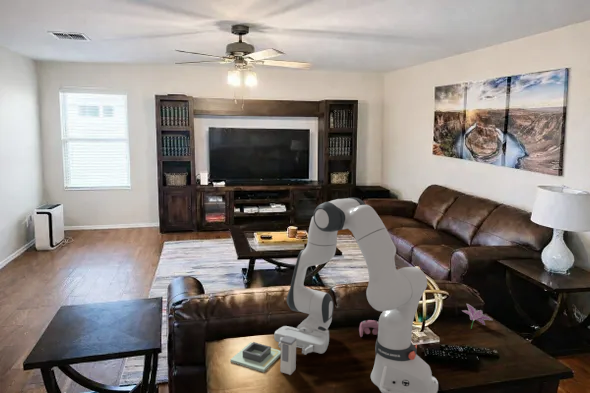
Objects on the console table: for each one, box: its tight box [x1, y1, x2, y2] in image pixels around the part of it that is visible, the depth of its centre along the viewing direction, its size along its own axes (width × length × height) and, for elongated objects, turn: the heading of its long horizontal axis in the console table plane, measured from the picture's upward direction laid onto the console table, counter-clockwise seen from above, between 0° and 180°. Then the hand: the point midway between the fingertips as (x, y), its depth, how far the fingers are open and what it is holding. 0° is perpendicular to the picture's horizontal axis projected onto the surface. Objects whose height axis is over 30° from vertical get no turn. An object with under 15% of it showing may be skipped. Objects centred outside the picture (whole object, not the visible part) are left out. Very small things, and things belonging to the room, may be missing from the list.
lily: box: [461, 303, 493, 329], centre depth 199 cm, size 12×12×10 cm
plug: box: [279, 335, 297, 376], centre depth 163 cm, size 4×5×12 cm
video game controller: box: [358, 319, 379, 338], centre depth 190 cm, size 10×5×7 cm, turn 84°
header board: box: [230, 341, 281, 373], centre depth 171 cm, size 14×14×4 cm
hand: (291, 349), depth 165 cm, fingers open, 8 cm apart
